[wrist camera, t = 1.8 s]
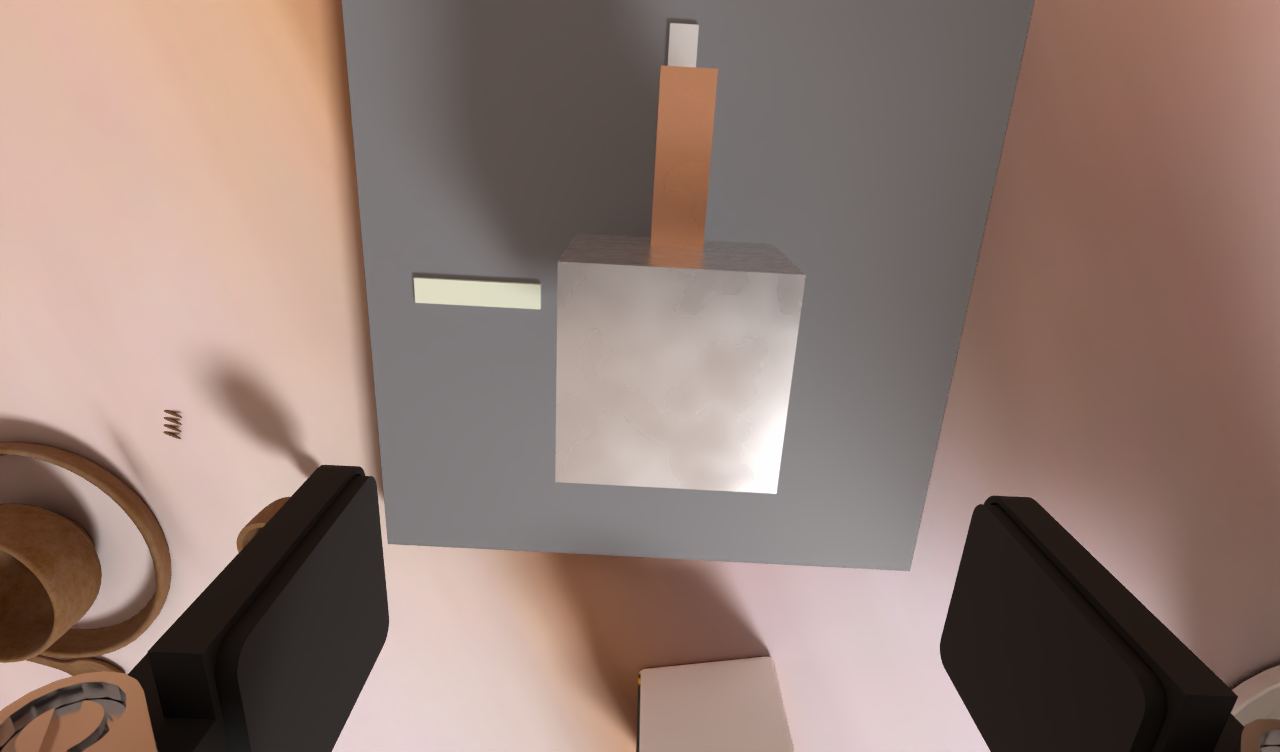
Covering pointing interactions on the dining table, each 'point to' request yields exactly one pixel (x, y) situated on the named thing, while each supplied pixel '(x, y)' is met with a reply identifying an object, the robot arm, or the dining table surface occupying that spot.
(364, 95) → the base board
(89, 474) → the tea set
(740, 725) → the medicine bottle
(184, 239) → the dining table surface
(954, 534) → the dining table surface
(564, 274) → the mallet
